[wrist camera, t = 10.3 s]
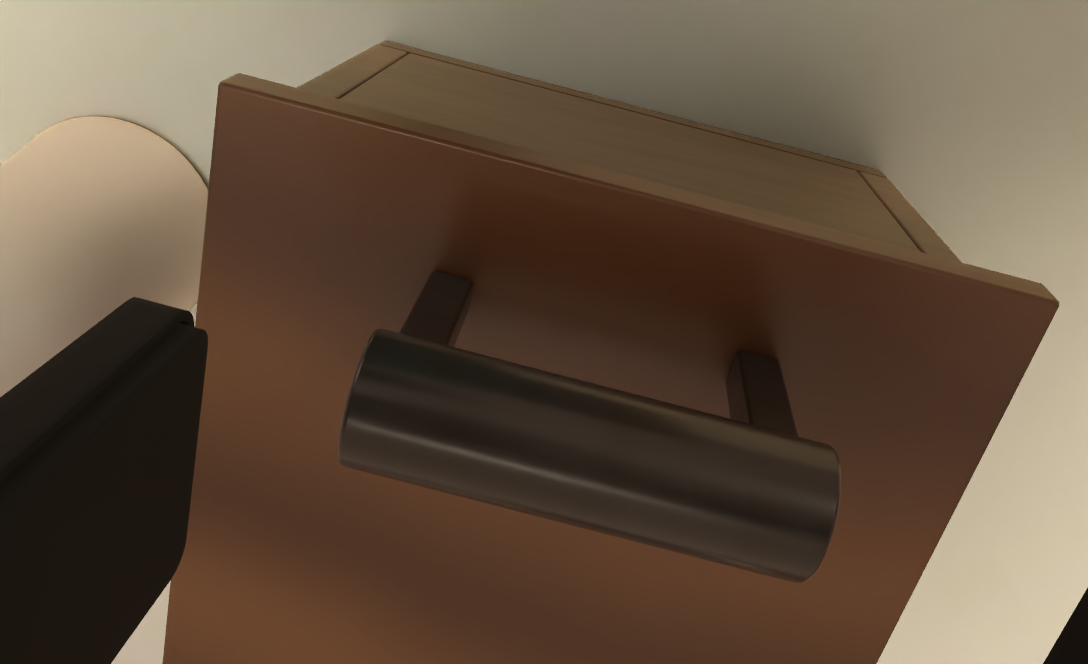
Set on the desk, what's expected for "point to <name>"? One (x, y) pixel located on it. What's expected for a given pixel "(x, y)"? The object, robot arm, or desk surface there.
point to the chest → (630, 142)
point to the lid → (560, 408)
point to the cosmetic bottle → (92, 234)
